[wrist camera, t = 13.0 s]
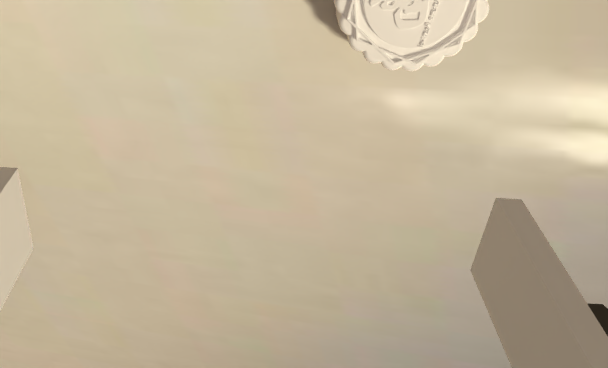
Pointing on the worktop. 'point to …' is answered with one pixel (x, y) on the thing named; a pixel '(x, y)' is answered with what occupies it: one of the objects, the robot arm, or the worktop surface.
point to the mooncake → (409, 29)
